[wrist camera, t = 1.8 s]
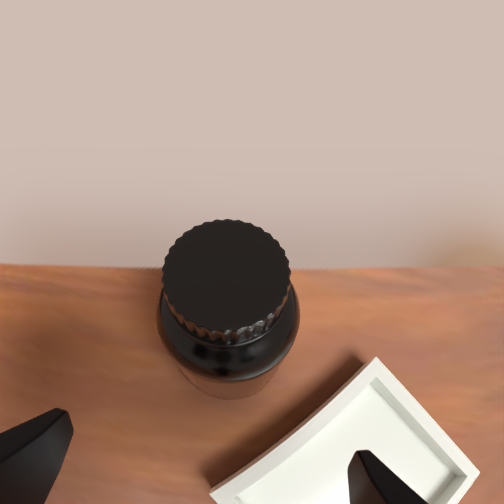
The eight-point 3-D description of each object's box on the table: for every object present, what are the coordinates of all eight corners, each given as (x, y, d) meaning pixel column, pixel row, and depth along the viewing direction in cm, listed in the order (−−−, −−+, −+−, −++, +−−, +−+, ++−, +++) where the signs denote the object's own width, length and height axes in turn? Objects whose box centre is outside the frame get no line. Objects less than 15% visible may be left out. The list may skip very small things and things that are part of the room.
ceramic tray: (336, 595, 11) (345, 606, 9) (211, 488, 16) (209, 494, 14) (463, 472, 16) (480, 472, 14) (364, 363, 21) (376, 356, 19)
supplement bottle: (298, 356, 22) (357, 279, 11) (225, 420, 19) (215, 411, 9) (233, 291, 24) (235, 175, 14) (162, 346, 21) (101, 262, 11)
